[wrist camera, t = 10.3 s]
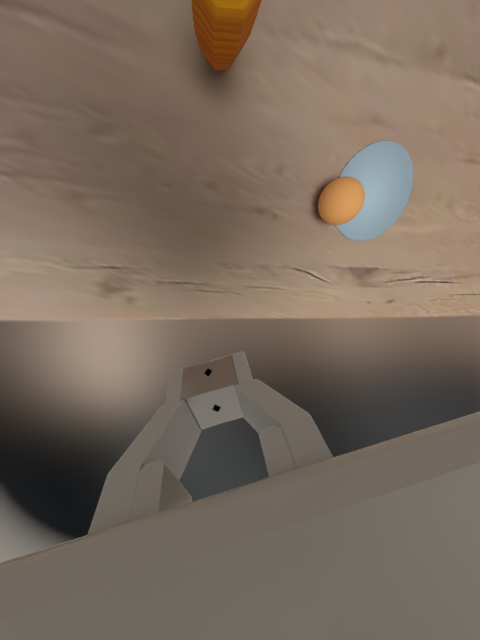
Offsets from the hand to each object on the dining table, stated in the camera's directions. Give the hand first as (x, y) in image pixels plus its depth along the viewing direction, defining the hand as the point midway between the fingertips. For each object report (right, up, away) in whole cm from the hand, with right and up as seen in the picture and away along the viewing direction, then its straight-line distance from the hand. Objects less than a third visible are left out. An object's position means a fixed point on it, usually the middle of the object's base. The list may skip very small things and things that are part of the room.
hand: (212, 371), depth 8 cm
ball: (+14, +17, +18) cm, 29 cm away
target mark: (+20, +20, +21) cm, 35 cm away
